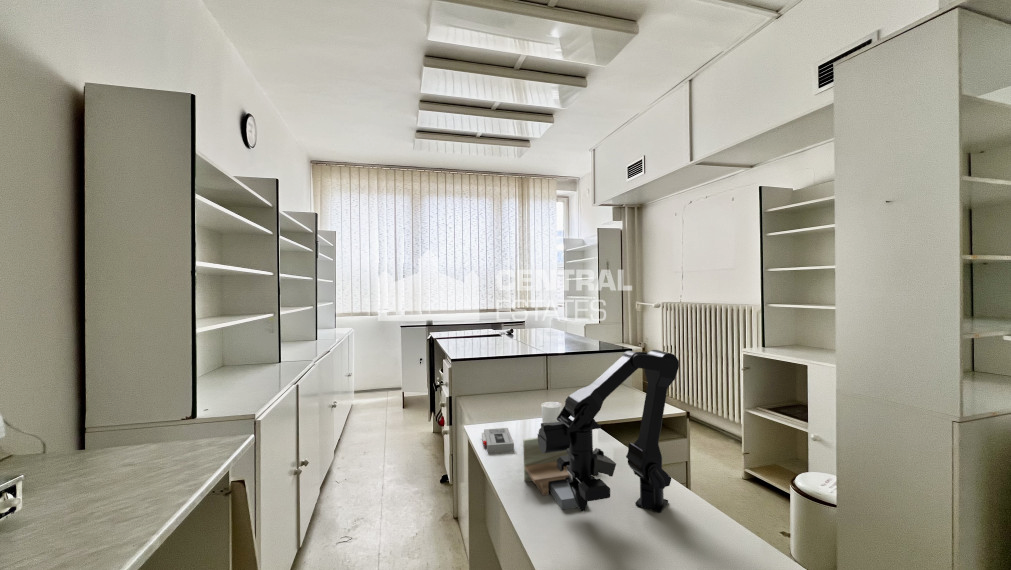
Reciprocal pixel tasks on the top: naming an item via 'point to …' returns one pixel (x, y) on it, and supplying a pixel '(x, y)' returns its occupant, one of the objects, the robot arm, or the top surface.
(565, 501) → the grey chamfered block
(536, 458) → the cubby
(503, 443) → the cassette player
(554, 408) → the white cup
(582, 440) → the robot arm
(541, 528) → the top surface
